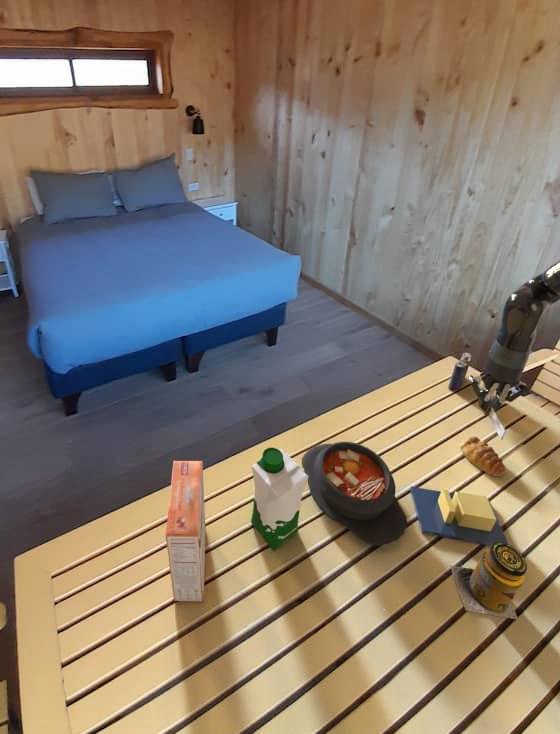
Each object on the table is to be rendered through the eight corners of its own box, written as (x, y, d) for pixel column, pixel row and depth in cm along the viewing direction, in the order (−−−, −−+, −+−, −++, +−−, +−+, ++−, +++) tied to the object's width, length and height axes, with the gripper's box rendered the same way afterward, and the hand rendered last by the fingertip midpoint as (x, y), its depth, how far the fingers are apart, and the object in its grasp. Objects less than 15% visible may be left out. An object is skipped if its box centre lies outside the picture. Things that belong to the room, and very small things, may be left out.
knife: (477, 401, 111) (480, 393, 110) (485, 402, 111) (488, 394, 110) (497, 439, 100) (500, 430, 99) (506, 440, 100) (510, 431, 98)
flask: (456, 373, 126) (466, 346, 121) (466, 378, 124) (477, 350, 119) (446, 388, 120) (455, 360, 115) (456, 393, 118) (467, 365, 113)
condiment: (517, 619, 70) (543, 582, 64) (465, 611, 71) (485, 573, 66) (497, 573, 76) (518, 536, 71) (449, 566, 78) (466, 528, 72)
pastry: (510, 472, 95) (516, 461, 93) (490, 482, 93) (495, 471, 91) (474, 442, 103) (479, 431, 101) (454, 450, 101) (458, 439, 99)
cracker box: (178, 525, 86) (172, 458, 76) (206, 525, 85) (204, 459, 76) (171, 602, 73) (163, 534, 64) (204, 604, 73) (201, 536, 63)
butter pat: (443, 501, 88) (448, 490, 86) (451, 524, 84) (456, 512, 82) (437, 500, 88) (442, 488, 86) (444, 523, 84) (449, 511, 82)
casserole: (426, 525, 85) (435, 500, 81) (360, 568, 77) (368, 543, 74) (341, 438, 105) (345, 415, 101) (282, 466, 98) (285, 442, 94)
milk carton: (274, 499, 90) (281, 437, 81) (304, 533, 83) (315, 469, 74) (244, 521, 86) (247, 458, 77) (273, 559, 79) (280, 495, 70)
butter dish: (487, 502, 89) (494, 487, 86) (508, 549, 80) (516, 534, 78) (409, 489, 92) (414, 474, 90) (421, 533, 83) (427, 518, 81)
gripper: (482, 364, 98) (463, 416, 106) (547, 371, 95) (523, 423, 103) (470, 346, 105) (454, 395, 112) (531, 351, 102) (510, 402, 109)
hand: (487, 409), depth 108 cm, fingers closed on knife, 2 cm apart
